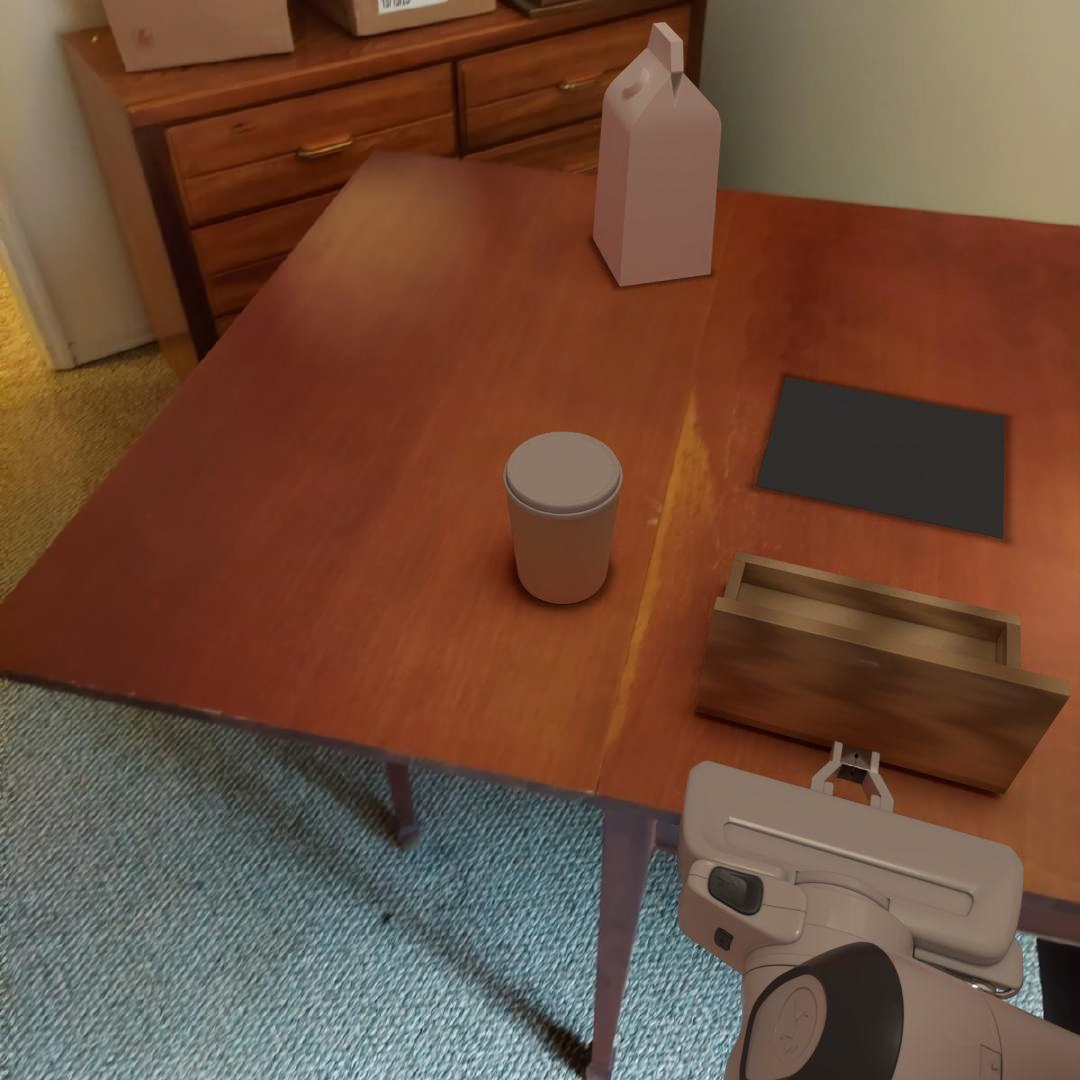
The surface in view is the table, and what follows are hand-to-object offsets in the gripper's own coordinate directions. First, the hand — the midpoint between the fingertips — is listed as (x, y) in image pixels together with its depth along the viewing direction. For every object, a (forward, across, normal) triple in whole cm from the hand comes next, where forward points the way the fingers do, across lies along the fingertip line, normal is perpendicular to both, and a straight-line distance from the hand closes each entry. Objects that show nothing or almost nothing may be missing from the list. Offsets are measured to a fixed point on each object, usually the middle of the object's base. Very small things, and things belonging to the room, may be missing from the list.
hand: (854, 751), depth 63 cm
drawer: (+10, 0, +6) cm, 12 cm away
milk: (+68, +31, +6) cm, 75 cm away
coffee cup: (+14, +25, +6) cm, 29 cm away
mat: (+39, 0, +6) cm, 40 cm away
